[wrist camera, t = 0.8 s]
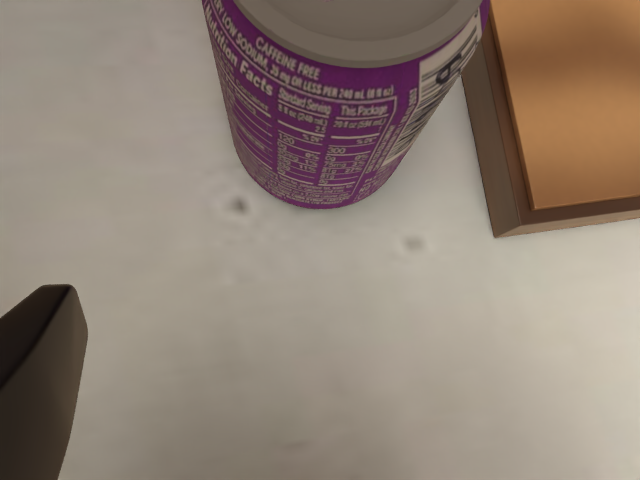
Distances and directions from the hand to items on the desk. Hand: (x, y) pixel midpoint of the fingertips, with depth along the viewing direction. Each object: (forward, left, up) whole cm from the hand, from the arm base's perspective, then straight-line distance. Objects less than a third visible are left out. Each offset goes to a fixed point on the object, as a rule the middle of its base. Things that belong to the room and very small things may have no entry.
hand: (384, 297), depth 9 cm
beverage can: (+8, -1, -14) cm, 16 cm away
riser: (+8, -13, -14) cm, 21 cm away
